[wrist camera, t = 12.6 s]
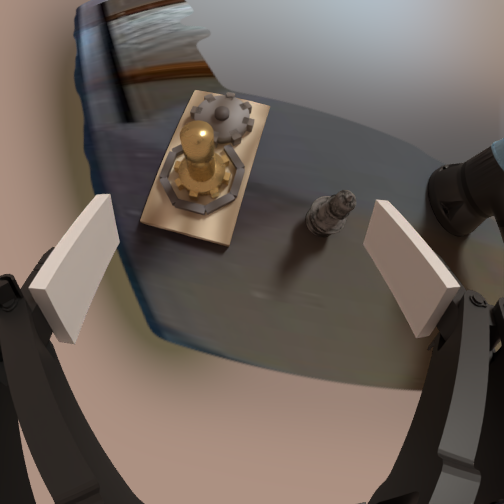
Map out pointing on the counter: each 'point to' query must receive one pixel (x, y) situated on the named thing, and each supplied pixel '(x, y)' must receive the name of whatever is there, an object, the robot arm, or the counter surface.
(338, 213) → the stone chess piece
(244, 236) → the counter surface
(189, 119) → the gear board
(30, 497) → the robot arm
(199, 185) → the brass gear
